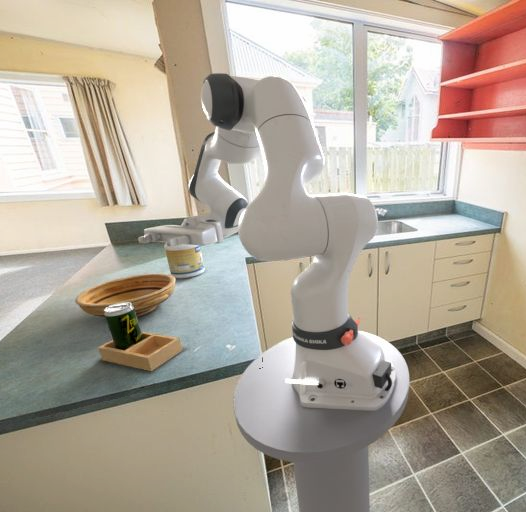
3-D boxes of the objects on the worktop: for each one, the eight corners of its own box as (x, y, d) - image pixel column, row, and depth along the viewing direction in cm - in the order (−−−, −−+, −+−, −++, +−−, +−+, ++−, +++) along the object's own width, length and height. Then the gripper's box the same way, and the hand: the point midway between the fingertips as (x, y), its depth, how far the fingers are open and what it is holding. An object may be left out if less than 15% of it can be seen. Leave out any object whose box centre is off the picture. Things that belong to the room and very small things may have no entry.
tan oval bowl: (60, 319, 89) (51, 295, 87) (146, 288, 111) (141, 268, 108) (120, 340, 79) (111, 314, 76) (202, 301, 100) (198, 280, 98)
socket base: (182, 350, 75) (179, 338, 74) (151, 371, 68) (147, 358, 66) (136, 341, 79) (133, 329, 78) (102, 360, 71) (97, 347, 70)
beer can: (111, 357, 71) (96, 313, 67) (127, 344, 76) (114, 302, 72) (136, 355, 72) (122, 311, 68) (150, 342, 77) (138, 301, 73)
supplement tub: (208, 274, 125) (200, 235, 120) (173, 281, 117) (164, 240, 112) (201, 266, 133) (194, 230, 128) (169, 273, 126) (159, 234, 120)
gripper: (169, 218, 91) (121, 228, 79) (224, 221, 86) (182, 232, 74) (173, 238, 93) (127, 250, 81) (227, 242, 88) (187, 256, 76)
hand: (154, 241), depth 77 cm, fingers open, 8 cm apart
